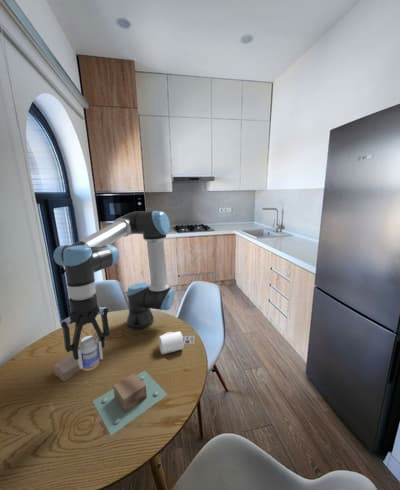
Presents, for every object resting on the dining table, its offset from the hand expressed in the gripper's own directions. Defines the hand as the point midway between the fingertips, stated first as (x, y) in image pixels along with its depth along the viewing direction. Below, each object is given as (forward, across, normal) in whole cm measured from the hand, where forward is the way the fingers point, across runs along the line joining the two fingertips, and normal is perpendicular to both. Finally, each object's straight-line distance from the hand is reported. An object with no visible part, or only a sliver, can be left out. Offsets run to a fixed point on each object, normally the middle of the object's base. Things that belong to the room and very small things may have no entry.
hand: (90, 361), depth 71 cm
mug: (+17, -36, -8) cm, 41 cm away
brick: (+17, -1, -25) cm, 31 cm away
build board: (+17, -9, +7) cm, 20 cm away
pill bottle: (+2, 0, -1) cm, 2 cm away
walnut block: (+15, -9, +7) cm, 19 cm away
